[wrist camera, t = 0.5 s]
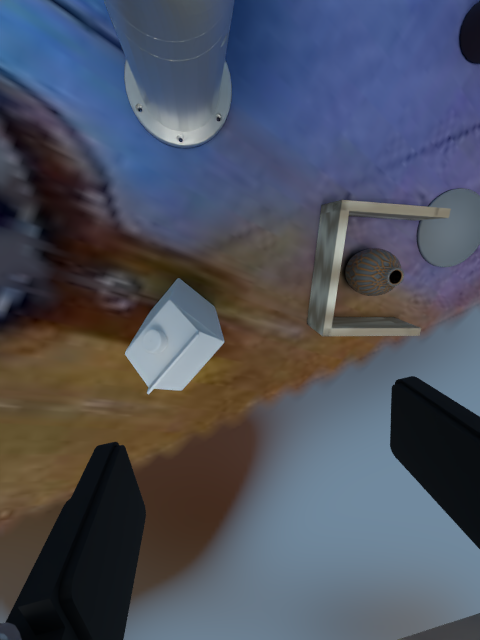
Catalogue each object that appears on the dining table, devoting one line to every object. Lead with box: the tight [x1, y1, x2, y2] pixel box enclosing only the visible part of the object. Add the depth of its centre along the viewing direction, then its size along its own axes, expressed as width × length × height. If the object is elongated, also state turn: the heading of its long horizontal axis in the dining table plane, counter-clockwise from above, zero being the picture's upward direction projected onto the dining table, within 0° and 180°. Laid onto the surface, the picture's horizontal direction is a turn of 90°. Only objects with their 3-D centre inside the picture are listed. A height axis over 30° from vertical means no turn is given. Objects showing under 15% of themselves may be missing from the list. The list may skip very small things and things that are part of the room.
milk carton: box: [125, 278, 225, 394], centre depth 33 cm, size 7×7×19 cm
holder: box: [307, 200, 451, 336], centre depth 41 cm, size 18×16×6 cm
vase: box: [345, 249, 404, 296], centre depth 40 cm, size 7×7×9 cm
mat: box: [417, 189, 480, 267], centre depth 44 cm, size 12×12×1 cm
